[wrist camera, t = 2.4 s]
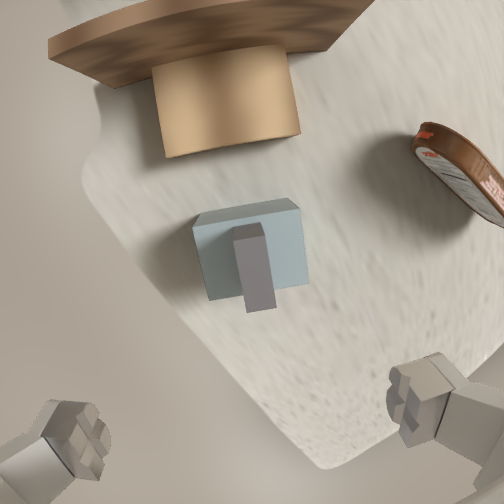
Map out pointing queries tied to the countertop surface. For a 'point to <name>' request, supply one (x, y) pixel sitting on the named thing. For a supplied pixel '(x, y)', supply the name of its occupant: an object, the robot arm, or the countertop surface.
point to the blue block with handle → (252, 251)
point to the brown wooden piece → (208, 62)
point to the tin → (462, 169)
